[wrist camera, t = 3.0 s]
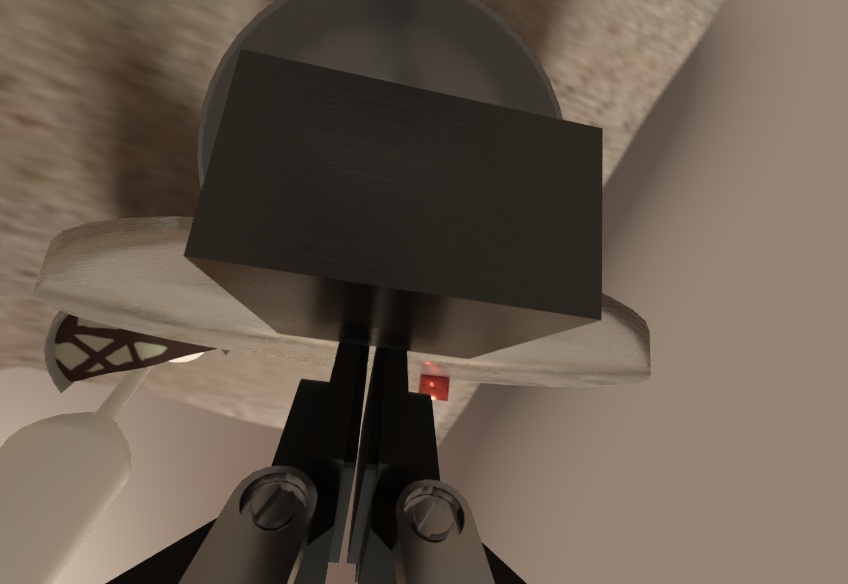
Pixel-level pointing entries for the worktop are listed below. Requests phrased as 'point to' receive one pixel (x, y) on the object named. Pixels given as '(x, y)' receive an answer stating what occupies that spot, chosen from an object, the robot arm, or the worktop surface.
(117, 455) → the champagne flute
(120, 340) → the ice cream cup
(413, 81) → the cooker pot
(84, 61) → the worktop surface
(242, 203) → the cooker lid
